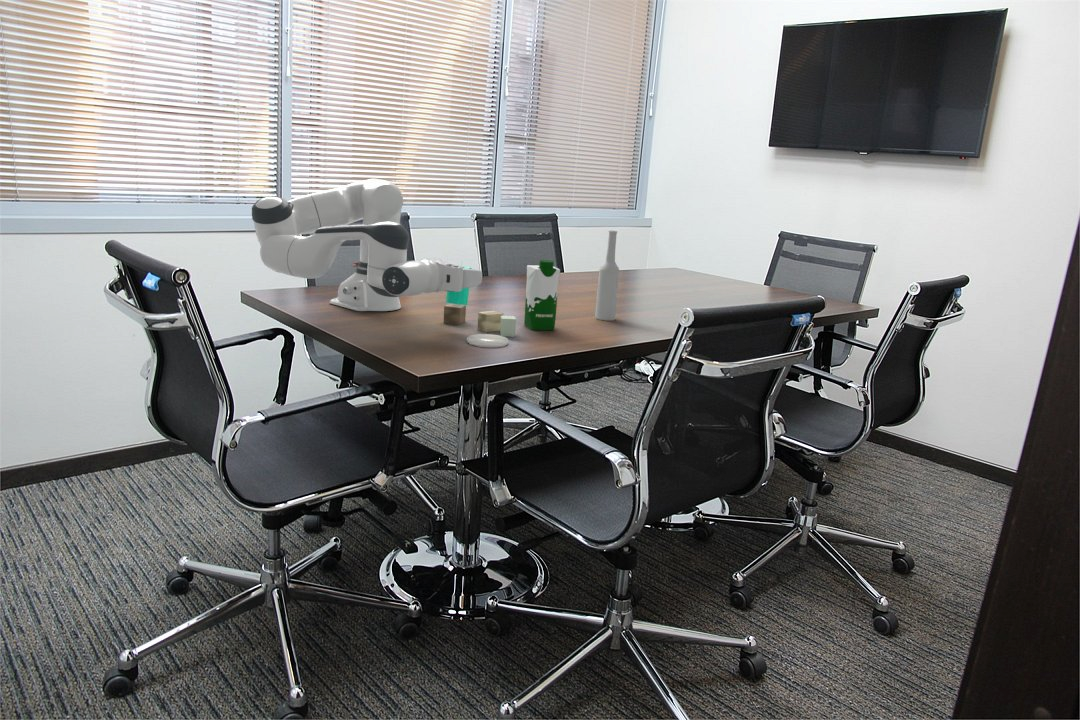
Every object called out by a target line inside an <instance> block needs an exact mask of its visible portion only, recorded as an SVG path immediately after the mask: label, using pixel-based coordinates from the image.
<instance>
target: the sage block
mask: <svg viewBox="0 0 1080 720" xmlns="http://www.w3.org/2000/svg"><path fill="white" fill-rule="evenodd" d="M516 327H517V318H516V316H515V315H514V316H513V315H503V316H501V321H500V330H499V336H503V337H514V338H515V337H516Z"/></svg>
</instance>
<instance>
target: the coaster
mask: <svg viewBox="0 0 1080 720" xmlns="http://www.w3.org/2000/svg"><path fill="white" fill-rule="evenodd" d="M466 343H467V344H468V343H469V345H471V346H474V347H480V348H493V349H494V348H503V347H506V346H508V344H509V338H508V337H507V336H501V335H500V334H499V335H497V334H491V333H490V334H489V333H488V334H487V333H479V334H478V333H477V334H470V335H468V336H467V337H466Z"/></svg>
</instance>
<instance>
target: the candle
mask: <svg viewBox="0 0 1080 720" xmlns="http://www.w3.org/2000/svg"><path fill="white" fill-rule="evenodd" d="M459 266H460V267H463V268H468V269H473V268H472V267H471V266H463V262H461V265H459ZM469 292H470V288H462V290H461V291H458V292H456V291H455V292H453V291H446V297H445V303H447V304H450V303H451V304H458V305H466V306H468V302H469V301H468V300H469Z"/></svg>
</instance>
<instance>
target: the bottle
mask: <svg viewBox="0 0 1080 720" xmlns="http://www.w3.org/2000/svg"><path fill="white" fill-rule="evenodd" d="M617 233H618V231H617V230H608V240H607V250H606V255H605V256H606V257H605V261H604V262H603V263H602V264H601V265H600V267H599V272H598V281H597V282H598V283H597V293H596V304H595V315H594V319H596V320H599V321H607V322H608V321H616V316H617V315H616V314H617V303H618V292H619V281H620V271H621V270H620V268H619V266H618V265H617V263H616V245H617Z"/></svg>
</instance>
